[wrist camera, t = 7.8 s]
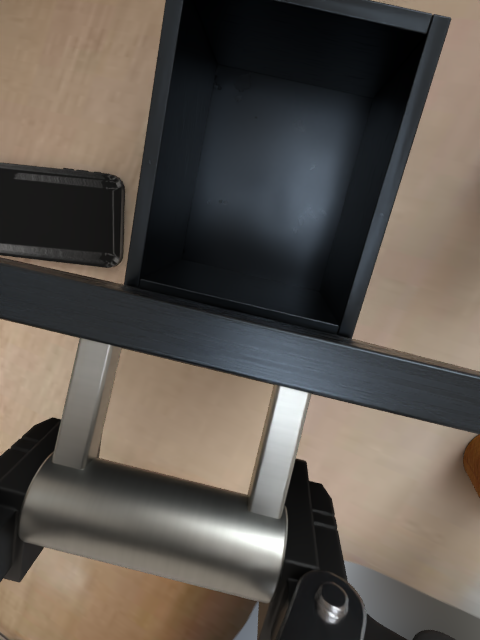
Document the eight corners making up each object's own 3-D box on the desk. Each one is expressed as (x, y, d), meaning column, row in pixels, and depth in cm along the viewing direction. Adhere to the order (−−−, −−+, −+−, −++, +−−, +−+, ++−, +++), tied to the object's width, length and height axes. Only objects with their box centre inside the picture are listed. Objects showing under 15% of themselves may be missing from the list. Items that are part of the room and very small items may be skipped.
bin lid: (-271, 197, 6) (-344, 554, 6) (680, 423, 5) (581, 796, 6) (121, 284, 23) (100, 374, 24) (353, 339, 23) (331, 430, 23)
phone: (119, 269, 35) (-45, 250, 36) (124, 267, 36) (-36, 248, 37) (122, 174, 33) (-52, 155, 34) (127, 175, 34) (-42, 157, 35)
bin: (209, 53, 31) (171, -44, 19) (385, 91, 31) (452, 17, 19) (172, 265, 35) (122, 289, 24) (325, 301, 35) (350, 343, 24)
